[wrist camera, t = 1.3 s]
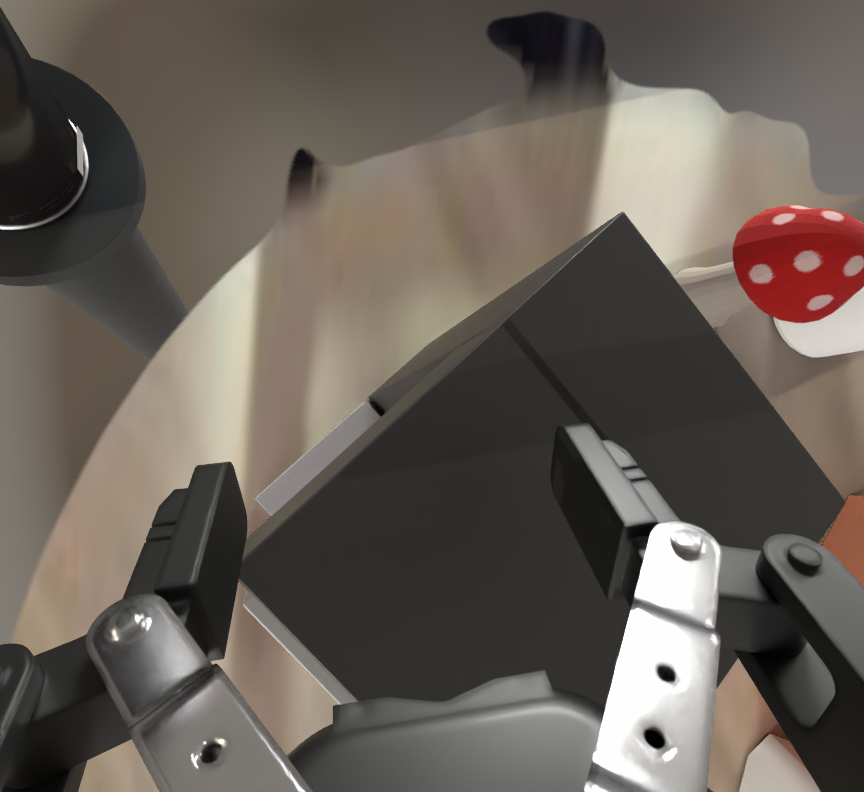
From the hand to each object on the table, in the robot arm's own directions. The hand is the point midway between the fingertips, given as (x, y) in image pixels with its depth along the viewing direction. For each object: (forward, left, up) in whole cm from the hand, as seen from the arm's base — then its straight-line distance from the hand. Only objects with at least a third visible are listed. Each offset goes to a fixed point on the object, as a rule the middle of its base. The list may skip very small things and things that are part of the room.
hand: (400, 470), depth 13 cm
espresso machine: (+6, +3, -26) cm, 27 cm away
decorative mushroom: (+12, +34, -26) cm, 45 cm away
